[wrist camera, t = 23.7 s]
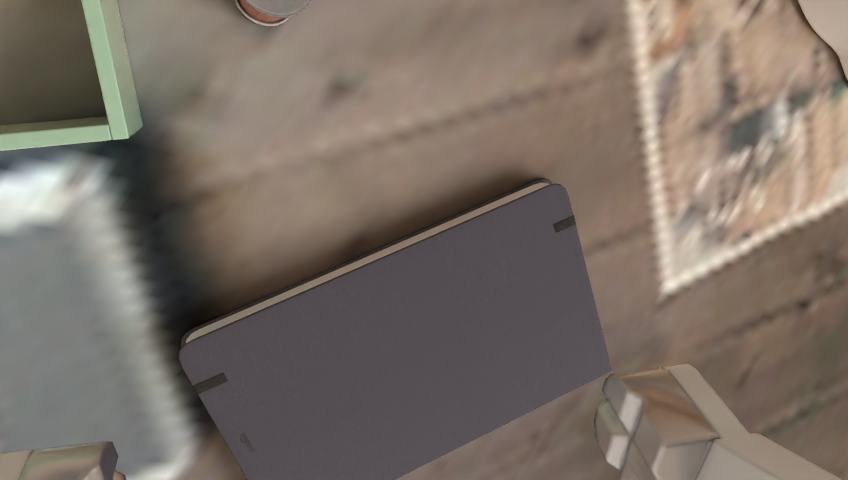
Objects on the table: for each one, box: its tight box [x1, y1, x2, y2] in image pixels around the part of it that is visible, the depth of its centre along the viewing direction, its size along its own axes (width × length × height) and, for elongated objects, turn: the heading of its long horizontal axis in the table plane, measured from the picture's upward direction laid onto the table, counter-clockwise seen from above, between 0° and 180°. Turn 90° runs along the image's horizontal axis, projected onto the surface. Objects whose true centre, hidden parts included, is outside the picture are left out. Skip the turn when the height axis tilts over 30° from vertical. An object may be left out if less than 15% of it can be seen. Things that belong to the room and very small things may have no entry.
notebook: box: [179, 179, 612, 480], centre depth 33 cm, size 13×2×21 cm
